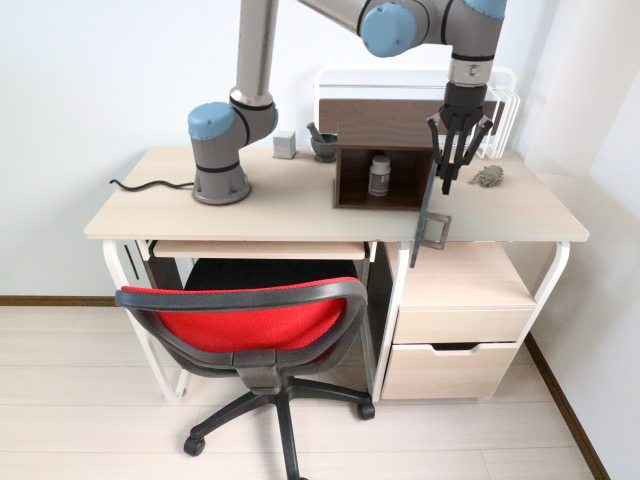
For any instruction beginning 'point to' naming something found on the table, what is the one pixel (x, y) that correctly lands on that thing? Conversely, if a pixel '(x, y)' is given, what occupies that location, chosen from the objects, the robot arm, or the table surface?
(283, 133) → the product box
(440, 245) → the cabinet door
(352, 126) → the cabinet
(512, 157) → the table surface
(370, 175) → the pill bottle
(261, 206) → the table surface
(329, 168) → the table surface
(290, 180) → the table surface
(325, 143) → the mortar and pestle
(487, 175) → the crab figurine
